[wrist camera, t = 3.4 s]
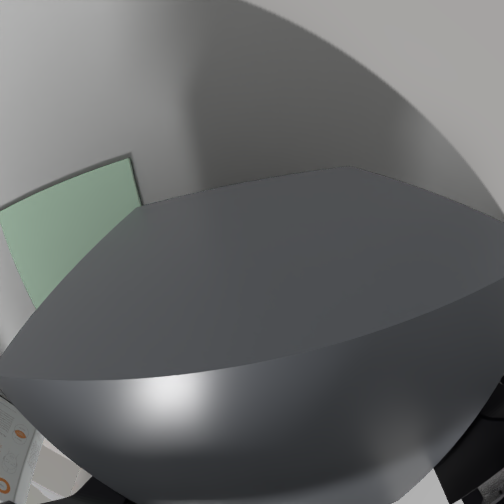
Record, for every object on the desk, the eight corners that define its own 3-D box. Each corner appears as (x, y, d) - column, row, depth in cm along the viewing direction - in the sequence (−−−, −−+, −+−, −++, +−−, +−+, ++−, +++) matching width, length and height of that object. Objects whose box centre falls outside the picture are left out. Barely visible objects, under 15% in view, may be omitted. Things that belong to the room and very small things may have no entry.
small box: (-3, 410, 19) (-32, 479, 7) (-13, 386, 18) (-50, 463, 6) (45, 439, 22) (24, 515, 10) (41, 420, 20) (12, 509, 8)
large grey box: (349, 166, 9) (551, 249, 2) (348, 388, 14) (397, 500, 7) (136, 207, 9) (-12, 374, 2) (218, 416, 14) (226, 541, 7)
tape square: (129, 157, 12) (128, 158, 12) (183, 328, 16) (182, 331, 16) (-1, 211, 12) (-3, 212, 11) (57, 343, 16) (56, 345, 15)
